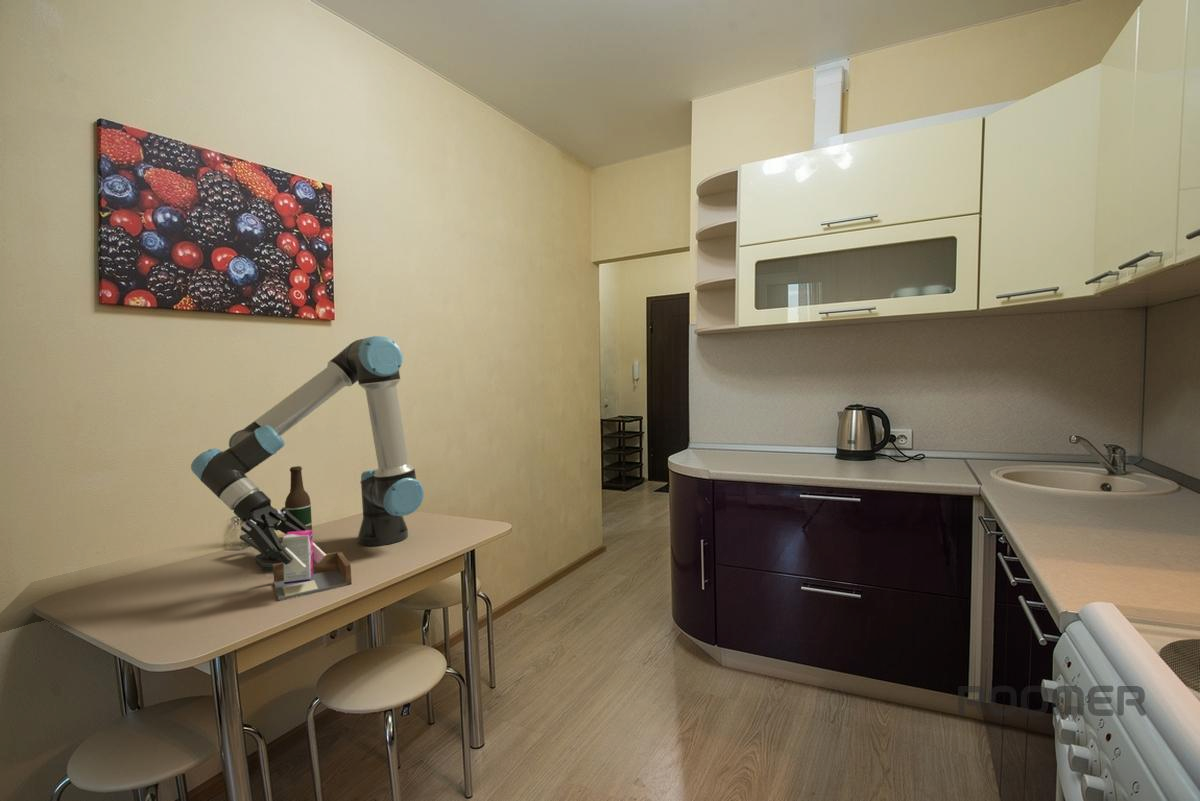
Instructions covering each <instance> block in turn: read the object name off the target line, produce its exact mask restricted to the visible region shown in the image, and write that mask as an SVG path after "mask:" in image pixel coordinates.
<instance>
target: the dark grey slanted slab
mask: <svg viewBox="0 0 1200 801" xmlns="http://www.w3.org/2000/svg"><path fill="white" fill-rule="evenodd" d="M239 539H240V540H241V541H243V542H244V543H246V544H247V545H249V546H250V547H252V548H254V550H257V552H259V553H260V554H257V555H254V562H255V563H254V564H255V565H256V566H257V567H258V568H259V570H261V571H262V573H268V572H270V574H271V572H272V573H273V564H277V563H282V561H281V560H280V559H279V558H278V557H276V558H275V559H273V558H271V556H270V557H266V556H265V554H264V553H263V552H262V551H261V550H260V548H259V547H258V546H257V545H256V544H255V542H254V541H253V540H252V539H251V537H250V536H249V535H248V534H247V533H244V534H240V535H239ZM268 550H269V549H268Z"/></svg>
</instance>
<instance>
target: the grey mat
mask: <svg viewBox="0 0 1200 801" xmlns="http://www.w3.org/2000/svg"><path fill="white" fill-rule="evenodd" d="M347 584H348V585H346V582H345V580H344V578H343V577H342V575H341V574H340V572H339V570H338V569H336V570H331V571H326V572H322V573H317V574H313V575H312V577H311V579H310V581H307V582H299V583H292V584H284V581H279V582H274V581H273V585H275V586H274V589H276V590H275V594H276V593H277V594H276V598H277V597H278V598H277V601H278V600H281V601H283V600H282V599H285V600H288V599H287V598H290V599H293V598H292V597H294V598H297V597H296V596H298V597H302V596H301V595H303V596H306V594H307V595H310V594H311V595H312V594H316V593H320V592H324V590H325V591H328V589H329V590H333V589H337V587H338V588H341V586H342V587H345V586H346V587H347V586H349V583H347ZM350 584H351V583H350ZM351 585H352V584H351ZM332 588H333V589H332Z"/></svg>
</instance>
